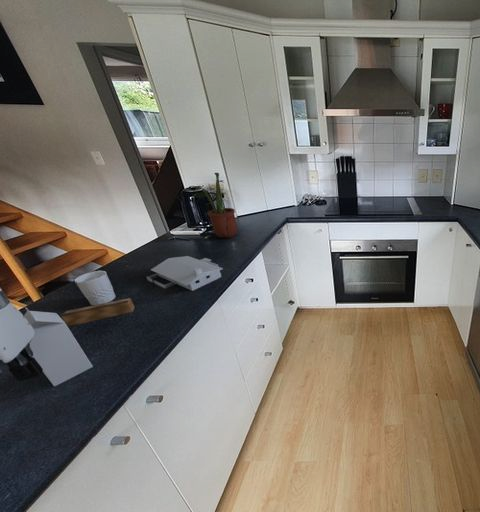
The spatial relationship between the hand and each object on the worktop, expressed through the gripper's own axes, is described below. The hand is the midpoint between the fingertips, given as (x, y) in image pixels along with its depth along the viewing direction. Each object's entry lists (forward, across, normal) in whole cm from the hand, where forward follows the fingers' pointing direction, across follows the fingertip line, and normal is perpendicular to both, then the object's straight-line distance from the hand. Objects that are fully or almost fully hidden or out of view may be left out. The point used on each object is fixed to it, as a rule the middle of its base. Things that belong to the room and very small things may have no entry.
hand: (31, 375), depth 59 cm
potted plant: (+9, -93, +36) cm, 100 cm away
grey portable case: (+9, -54, +24) cm, 60 cm away
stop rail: (+9, -35, 0) cm, 36 cm away
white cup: (+9, -47, -3) cm, 48 cm away
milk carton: (+9, -10, 0) cm, 14 cm away
